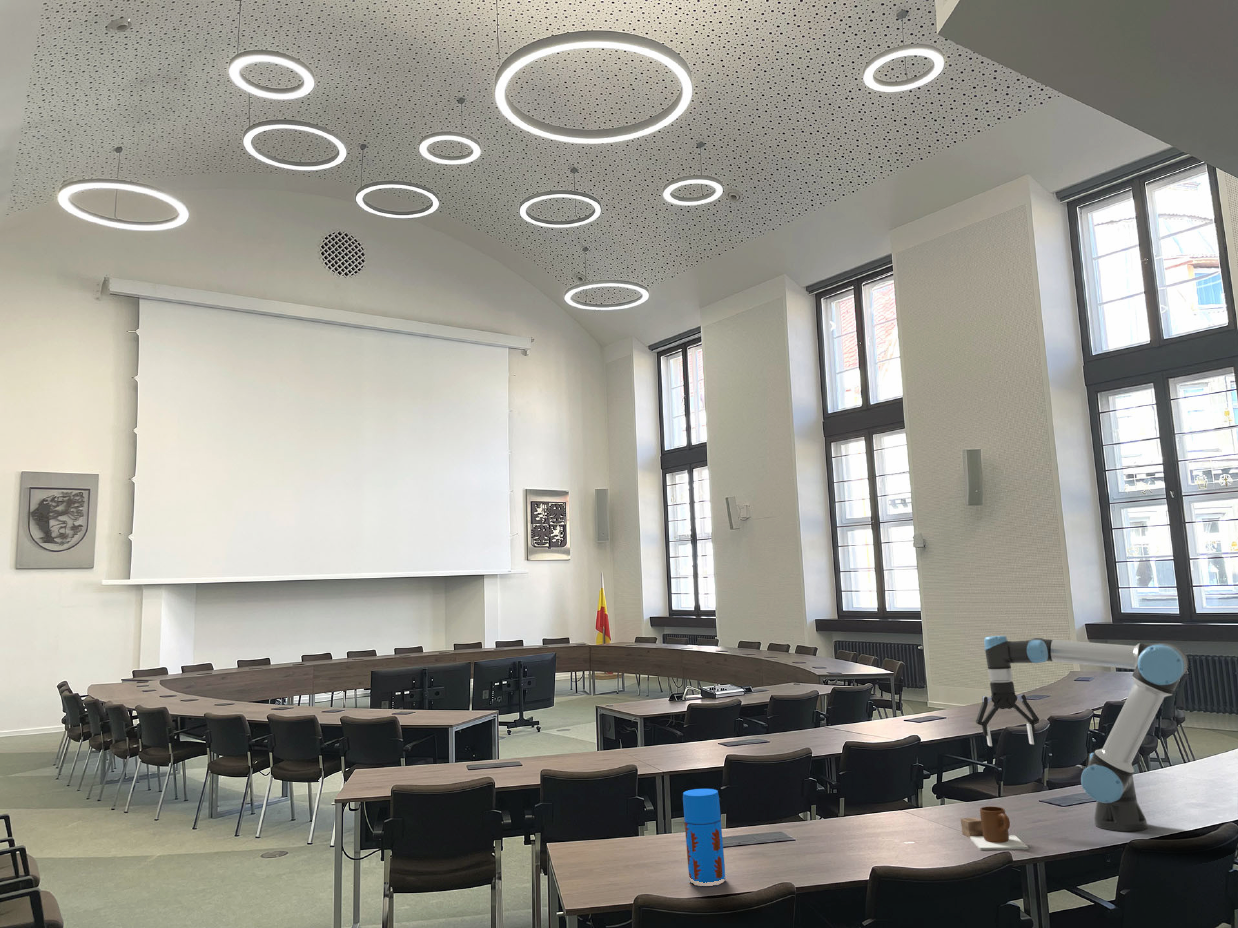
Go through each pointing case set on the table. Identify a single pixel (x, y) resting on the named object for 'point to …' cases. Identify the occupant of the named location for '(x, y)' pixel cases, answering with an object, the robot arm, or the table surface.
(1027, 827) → the table surface
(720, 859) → the thermos
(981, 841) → the felt mat
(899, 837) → the table surface
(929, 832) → the table surface
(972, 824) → the walnut block
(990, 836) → the mug
